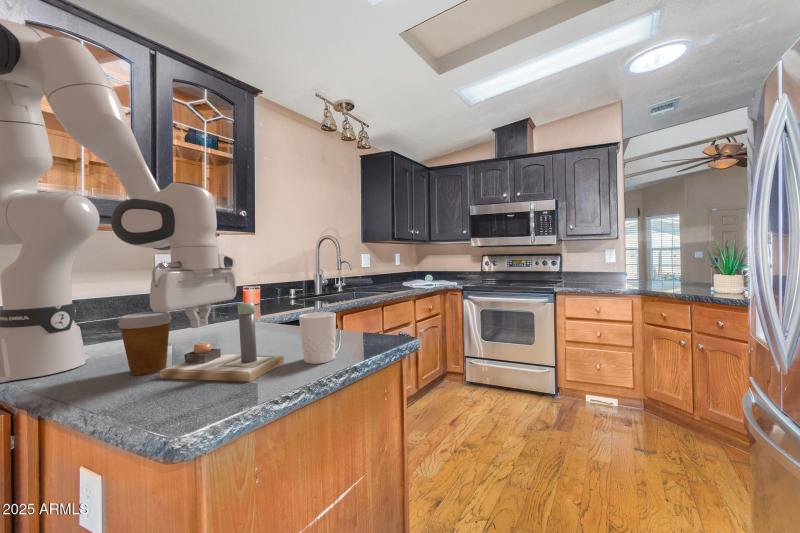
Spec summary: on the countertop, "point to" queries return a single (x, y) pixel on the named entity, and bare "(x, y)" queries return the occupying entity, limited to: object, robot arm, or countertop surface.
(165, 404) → the countertop surface
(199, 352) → the button
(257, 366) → the wooden tray
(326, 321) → the white cup
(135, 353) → the disposable coffee cup
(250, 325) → the marker
